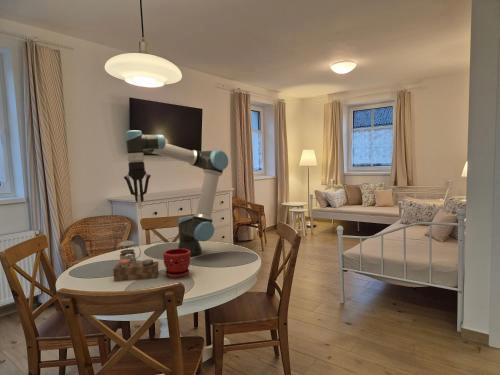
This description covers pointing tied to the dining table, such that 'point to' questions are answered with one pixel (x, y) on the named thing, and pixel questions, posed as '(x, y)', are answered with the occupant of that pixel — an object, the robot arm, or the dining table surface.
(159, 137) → the robot arm
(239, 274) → the dining table surface
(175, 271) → the plant pot
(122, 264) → the red plug
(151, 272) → the socket block
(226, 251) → the dining table surface
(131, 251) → the french press
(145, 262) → the charcoal plug
